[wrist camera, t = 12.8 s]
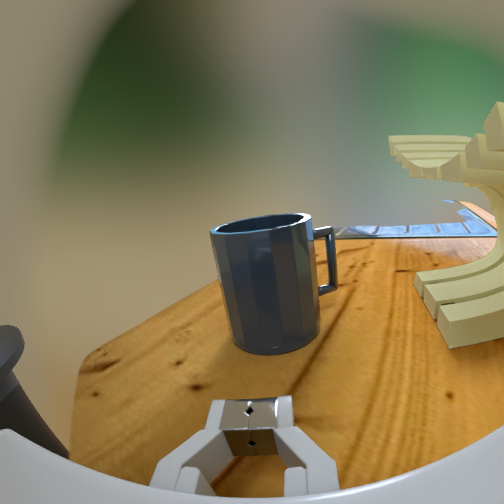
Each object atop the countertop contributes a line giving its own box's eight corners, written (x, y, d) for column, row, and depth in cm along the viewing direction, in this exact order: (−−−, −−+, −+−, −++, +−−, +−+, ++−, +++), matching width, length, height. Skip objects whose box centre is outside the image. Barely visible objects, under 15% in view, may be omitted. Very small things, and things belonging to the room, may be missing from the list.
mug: (246, 366, 20) (220, 240, 17) (223, 323, 28) (203, 227, 25) (362, 323, 23) (359, 211, 20) (318, 295, 30) (309, 207, 28)
